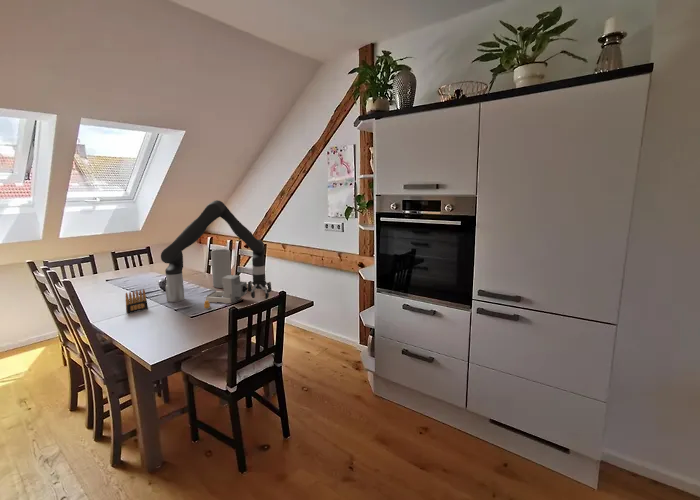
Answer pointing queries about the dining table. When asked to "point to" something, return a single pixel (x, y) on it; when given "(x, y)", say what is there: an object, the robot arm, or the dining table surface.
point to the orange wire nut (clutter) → (206, 304)
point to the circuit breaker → (233, 287)
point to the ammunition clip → (136, 302)
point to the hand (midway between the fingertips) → (260, 298)
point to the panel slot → (213, 298)
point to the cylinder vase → (220, 266)
